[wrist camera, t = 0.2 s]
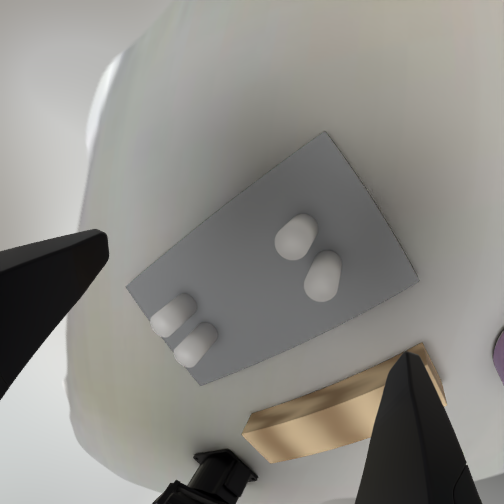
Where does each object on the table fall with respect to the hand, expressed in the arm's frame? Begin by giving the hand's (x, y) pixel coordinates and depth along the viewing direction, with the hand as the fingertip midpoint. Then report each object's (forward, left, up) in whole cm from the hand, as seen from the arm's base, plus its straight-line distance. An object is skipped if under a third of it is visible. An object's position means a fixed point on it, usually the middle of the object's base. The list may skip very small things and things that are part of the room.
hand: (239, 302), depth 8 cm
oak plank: (-7, -16, -16) cm, 24 cm away
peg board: (-7, -2, -15) cm, 17 cm away
